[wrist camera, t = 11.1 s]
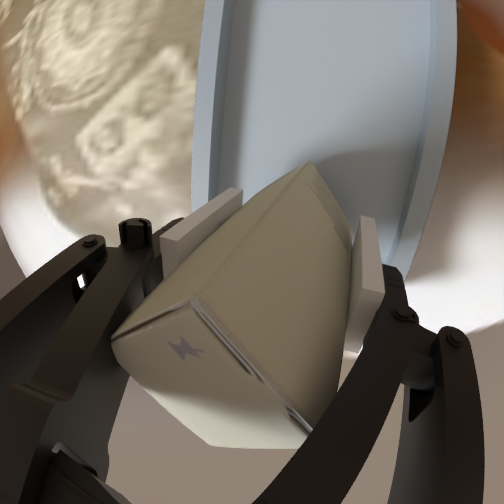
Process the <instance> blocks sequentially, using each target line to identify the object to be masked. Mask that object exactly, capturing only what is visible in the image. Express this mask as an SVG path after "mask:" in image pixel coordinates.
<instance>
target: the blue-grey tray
mask: <svg viewBox="0 0 504 504" xmlns="http://www.w3.org/2000/svg"><path fill="white" fill-rule="evenodd" d="M456 57H457V11H456V0H206V1H205V8H204V15H203V23H202V31H201V40H200V49H199V59H198V70H197V82H196V95H195V109H194V127H193V148H192V179H191V214H192V213H193V212H194V211H196V210H197V209H199V208H200V207H202V206H203V205H205V204H206V203H208V202H209V201H211V200H212V199H214V198H215V197H217V196H218V195H220V194H221V193H223V192H224V191H226V190H227V189H229V188H230V187H231V188H236V189H242V190H243V201H242V206H243V205H244V204H245V203H246V202H247V201H248V200H249V199H250V198H251V197H252V196H254V195H255V194H256V193H258V192H259V191H260V190H262V189H263V188H265V187H266V186H268V185H269V184H271V183H272V182H274V181H275V180H277V179H278V178H280V177H282V176H283V175H285V174H287V173H288V172H290V171H292V170H293V169H295V168H296V167H298V166H300V165H302V164H303V163H305V162H307V161H311V162H312V164H313V165H314V166H315V168H316V169H317V171H318V172H319V174H320V175H321V177H322V178H323V180H324V182H325V183H326V185H327V186H328V188H329V189H330V191H331V193H332V194H333V196H334V198H335V199H336V201H337V203H338V205H339V206H340V208H341V210H342V212H343V213H344V215H345V217H346V219H347V221H348V223H349V225H350V227H351V229H352V231H353V236H352V246H353V242H354V238H355V235H356V231H357V227H358V223H359V219H360V215H362V216H366V217H370V218H374V219H375V224H376V229H377V235H378V241H379V248H380V255H381V262H382V264H386V265H390V266H393V267H397V269H398V270H399V271H400V273H401V274H402V276H403V281H405V279H406V276H407V274H408V271H409V269H410V266H411V263H412V261H413V258H414V255H415V253H416V250H417V247H418V244H419V241H420V239H421V236H422V233H423V230H424V227H425V223H426V220H427V217H428V214H429V211H430V207H431V204H432V200H433V197H434V193H435V189H436V186H437V182H438V178H439V174H440V169H441V165H442V161H443V156H444V151H445V146H446V141H447V136H448V130H449V124H450V118H451V111H452V103H453V95H454V85H455V74H456Z"/></svg>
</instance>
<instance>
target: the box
mask: <svg viewBox="0 0 504 504" xmlns="http://www.w3.org/2000/svg"><path fill="white" fill-rule="evenodd" d="M352 236H353V231H352V229H351V227H350V225H349V223H348V221H347V219H346V217H345V215H344V213H343V212H342V210H341V208H340V206H339V205H338V203H337V201H336V199H335V198H334V196H333V194H332V193H331V191H330V189H329V188H328V186H327V185H326V183H325V182H324V180H323V178H322V177H321V175H320V174H319V172H318V171H317V169H316V168H315V166H314V165H313V164H312V162H311V161H307V162H305V163H303V164H302V165H300V166H298V167H296V168H295V169H293V170H292V171H290V172H288V173H287V174H285V175H283V176H282V177H280V178H278V179H277V180H275V181H274V182H272V183H271V184H269V185H268V186H266V187H265V188H263V189H262V190H260V191H259V192H258V193H256V194H255V195H254V196H252V197H251V198H250V199H249V200H248V201H247V202H246V203H245V204H244V205H243V206H242V207H240V208H239V209H238V210H237V211H236V212H235V213H234V214H233V215H232V216H231V217H229V218H228V219H227V220H226V221H225V222H224V223H223V224H222V225H221V226H220V227H219V228H218V229H217V230H216V231H214V232H213V233H212V234H211V235H210V236H209V237H208V238H207V239H206V240H205V241H203V242H202V243H201V244H200V245H199V246H198V247H197V248H196V249H195V250H194V251H193V252H192V253H191V254H190V255H189V256H188V257H187V258H186V259H185V260H184V261H183V262H182V263H180V264H179V265H178V266H177V267H176V268H175V269H174V270H173V271H172V272H171V273H170V274H169V275H168V276H167V277H166V278H165V279H164V280H163V281H162V282H161V283H160V284H159V285H158V286H157V287H156V288H155V289H154V290H153V291H152V292H151V293H150V294H149V295H148V296H147V297H146V298H145V299H144V300H143V301H142V302H141V303H140V304H139V305H138V306H137V307H136V308H135V309H134V310H133V311H132V312H131V313H130V314H129V316H128V317H127V318H126V319H125V320H124V321H123V323H122V324H121V325H120V326H119V327H118V329H117V330H116V331H115V332H114V334H113V335H112V337H111V346H112V350H113V352H114V355H115V357H116V360H117V362H118V363H119V364H120V365H121V366H122V367H123V368H124V369H125V370H126V371H127V372H128V373H129V375H130V376H132V377H133V378H134V379H135V380H136V381H137V382H138V383H139V385H141V386H142V387H143V388H144V389H145V390H146V391H147V392H148V393H149V394H150V395H151V396H152V397H153V398H154V399H155V400H156V401H157V402H158V403H160V404H161V405H162V406H163V407H164V408H165V409H166V410H167V411H168V412H170V413H171V414H172V415H173V416H174V417H176V418H177V419H178V420H179V421H180V422H181V423H183V424H184V425H185V426H186V427H187V428H189V429H190V430H191V431H193V432H194V433H195V434H197V435H198V436H199V437H200V438H202V439H203V440H204V441H206V442H207V443H208V444H210V445H212V446H219V447H231V448H256V449H257V448H258V449H290V448H291V449H292V448H300V446H301V445H302V444H303V442H304V441H305V440H306V438H307V437H308V435H309V434H310V433H311V431H312V430H313V428H314V427H315V426H316V424H317V423H318V421H319V420H320V418H321V417H322V415H323V414H324V412H325V411H326V409H327V408H328V406H329V405H330V403H331V402H332V400H333V399H334V397H335V395H336V394H337V390H338V383H339V378H340V371H341V364H342V357H343V350H344V342H345V333H346V324H347V314H348V304H349V292H350V276H351V259H352Z"/></svg>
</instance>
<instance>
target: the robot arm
mask: <svg viewBox="0 0 504 504" xmlns="http://www.w3.org/2000/svg"><path fill="white" fill-rule="evenodd" d="M242 201H243V190H242V189H236V188H231V187H230V188H229V189H227V190H226V191H224V192H223V193H221V194H220V195H218V196H217V197H215V198H214V199H212V200H211V201H209V202H208V203H206V204H205V205H203V206H202V207H200V208H199V209H197V210H196V211H194V212H193V213H192V214H190V215H189V216H187V217H186V218H183V217H182V218H178V219H175V220H172V221H171V222H170V223H168V224H167V225H166V226H164V227H162V228H161V230H160V229H159V230H158V231H156V232H155V233H154V234H152V226H151V222H150V221H149V220H147V219H143V218H133V219H127V220H125V221H122V222H121V223H119V233H120V240H121V244H120V245H119V247H118V248H116V247H106V242H105V238H104V237H103V236H101V235H95V234H92V235H88V236H85V237H83V238H81V239H79V240H78V241H76V242H75V243H73V244H72V245H71V246H69V247H68V248H66V249H65V250H63V251H62V252H61V253H59V254H58V255H57V256H55V257H54V258H52V259H51V260H50V261H48V262H47V263H46V264H44V265H43V266H42V267H40V268H39V269H38V270H36V271H35V272H34V273H33V274H31V275H30V276H29V277H28V278H26V279H25V280H24V281H23V282H21V283H20V284H19V285H18V286H16V287H15V288H14V289H13V290H11V291H10V292H9V293H8V294H7V295H6V296H4V297H3V298H2V299H1V300H0V504H131V503H130V502H129V501H128V500H127V499H126V498H125V497H124V496H123V495H122V494H120V493H118V492H117V491H116V490H114V489H113V488H111V487H109V486H108V485H107V484H105V481H106V477H107V473H108V468H109V454H108V442H109V438H110V435H111V431H112V428H113V425H114V422H115V418H116V415H117V412H118V409H119V406H120V403H121V400H122V397H123V394H124V391H125V388H126V385H127V382H128V379H129V376H130V375H129V373H128V372H127V371H126V370H125V369H124V368H123V367H122V366H121V365H120V364H119V363H118V362H117V360H116V357H115V355H114V352H113V350H112V346H111V337H112V335H113V334H114V332H115V331H116V330H117V329H118V327H119V326H120V325H121V324H122V323H123V321H124V320H125V319H126V318H127V317H128V316H129V314H130V313H131V312H132V311H133V310H134V309H135V308H136V307H137V306H138V305H139V304H140V303H141V302H142V301H143V300H144V299H145V298H146V297H147V296H148V295H149V294H150V293H151V292H152V291H153V290H154V289H155V288H156V287H157V286H158V285H159V284H160V283H161V282H162V281H163V280H164V279H165V278H166V277H167V276H168V275H169V274H170V273H171V272H172V271H173V270H174V269H175V268H176V267H177V266H178V265H179V264H180V263H182V262H183V261H184V260H185V259H186V258H187V257H188V256H189V255H190V254H191V253H192V252H193V251H194V250H195V249H196V248H197V247H198V246H199V245H200V244H201V243H202V242H203V241H205V240H206V239H207V238H208V237H209V236H210V235H211V234H212V233H213V232H214V231H216V230H217V229H218V228H219V227H220V226H221V225H222V224H223V223H224V222H225V221H226V220H227V219H228V218H229V217H231V216H232V215H233V214H234V213H235V212H236V211H237V210H238V209H239V208H240V207H242ZM81 274H82V277H83V280H84V284H85V286H84V287H82V288H80V287H79V284H78V280H77V277H79V276H80V275H81ZM362 344H363V349H362V351H361V353H360V355H359V356H358V358H357V360H356V362H355V364H354V365H353V367H352V369H351V371H350V372H349V374H348V376H347V378H346V379H345V381H344V382H343V384H342V386H341V387H340V389H339V391H338V392H337V394H336V395H335V397H334V399H333V400H332V402H331V403H330V405H329V406H328V408H327V409H326V411H325V412H324V414H323V415H322V417H321V418H320V420H319V421H318V423H317V424H316V426H315V427H314V428H313V430H312V431H311V433H310V434H309V435H308V437H307V438H306V440H305V441H304V442H303V444H302V445H301V446H300V448H299V449H298V450H297V452H296V453H295V455H294V456H293V457H292V458H291V460H290V461H289V462H288V463H287V464H286V466H285V467H284V468H283V469H282V471H281V472H280V473H279V474H278V475H277V477H276V478H275V479H274V480H273V481H272V483H271V484H270V485H269V486H268V487H267V488H266V489H265V490H264V492H263V493H262V494H261V495H260V496H259V497H258V498H257V499H256V500H255V501H254V502H253V503H252V504H341V502H342V501H343V499H344V498H345V496H346V494H347V493H348V491H349V490H350V488H351V486H352V485H353V483H354V481H355V480H356V478H357V476H358V474H359V472H360V471H361V469H362V467H363V465H364V463H365V461H366V459H367V458H368V455H369V454H370V452H371V450H372V447H373V446H374V444H375V441H376V440H377V437H378V435H379V433H380V431H381V429H382V427H383V425H384V422H385V420H386V418H387V415H388V413H389V411H390V408H391V406H392V403H393V401H394V398H395V396H396V393H397V390H398V388H399V385H400V383H402V384H404V385H405V386H404V401H403V412H402V423H401V432H400V440H399V447H398V453H397V460H396V466H395V471H394V476H393V482H392V486H391V491H390V495H389V499H388V503H387V504H483V492H484V467H485V465H484V464H485V458H484V431H483V419H482V409H481V401H480V393H479V386H478V380H477V374H476V369H475V364H474V359H473V354H472V349H471V345H470V342H469V340H468V338H467V337H466V335H465V334H464V333H463V332H462V331H460V330H459V329H457V328H454V327H451V326H445V327H442V328H441V329H440V331H439V332H438V334H436V333H434V332H432V331H429V330H427V329H425V328H424V327H422V326H420V325H419V317H418V315H417V313H416V312H415V311H414V310H413V309H412V308H411V307H409V306H408V300H407V295H406V290H405V285H404V281H403V276H402V274H401V273H400V271H399V270H398V269H397V267H393V266H390V265H386V264H382V262H381V255H380V248H379V241H378V235H377V229H376V224H375V219H374V218H370V217H366V216H362V215H360V219H359V223H358V227H357V231H356V235H355V238H354V242H353V246H352V259H351V276H350V292H349V304H348V314H347V324H346V333H345V342H344V350H347V351H351V352H356V353H358V352H359V350H360V348H361V346H362Z"/></svg>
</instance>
